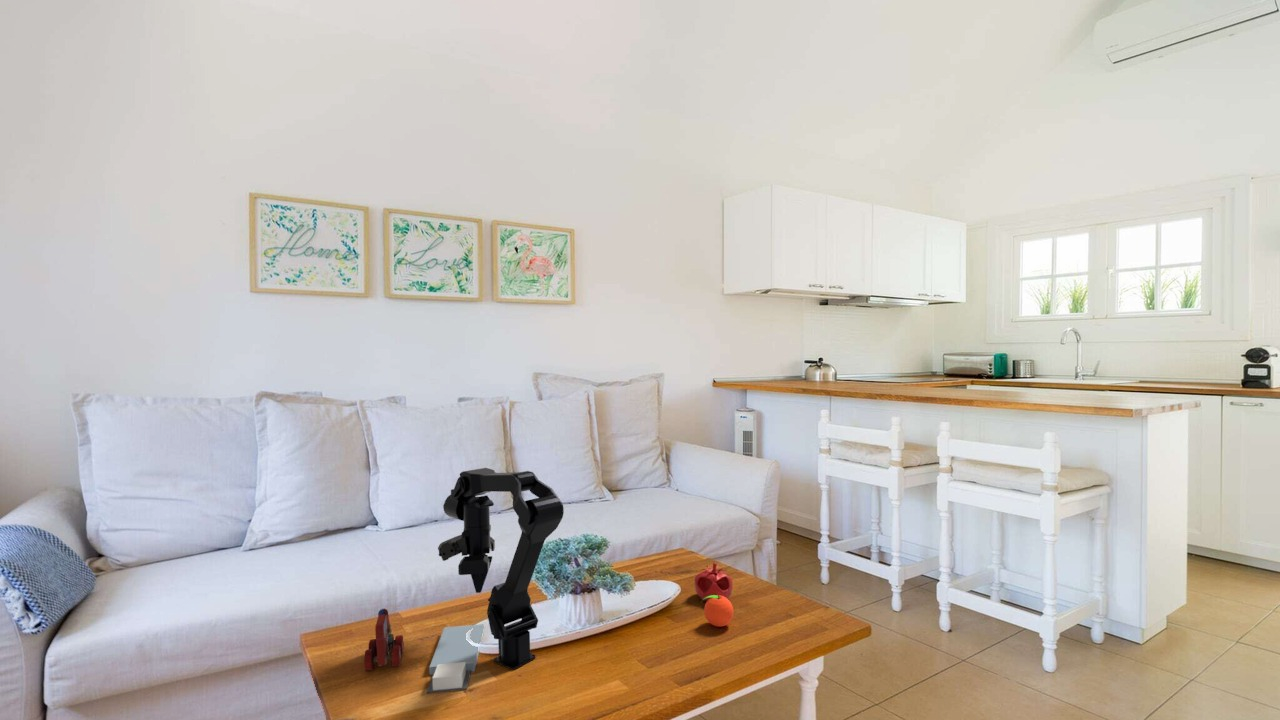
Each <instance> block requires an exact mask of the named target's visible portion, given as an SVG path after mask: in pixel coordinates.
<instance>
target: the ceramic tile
mask: <svg viewBox="0 0 1280 720" xmlns="http://www.w3.org/2000/svg"><path fill="white" fill-rule="evenodd" d="M465 675H466V662H460V663H448V664H438V665H437V668H436V670H435V673H434V676H433V690H443V689H454V688H462V686H463V682H464V679H465Z"/></svg>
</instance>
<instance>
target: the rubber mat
mask: <svg viewBox="0 0 1280 720" xmlns="http://www.w3.org/2000/svg"><path fill="white" fill-rule="evenodd" d="M471 673H472V671H471V670H469V671H466V675H465V679H464V682H463V686H462V688H454V689H443V690H433V676H434V674H433V675H431V679H430V682H429V684H428V687H427V690H426V694H434V693H445V692H455V691H466V690H467V689H468V685H469V681H470V676H471Z"/></svg>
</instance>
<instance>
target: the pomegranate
mask: <svg viewBox="0 0 1280 720" xmlns="http://www.w3.org/2000/svg"><path fill="white" fill-rule="evenodd" d="M719 567H720V565H718V563H717V562H713V563H712V568H711V566H710V565H706V566H705V568H702V569H700V570H699V571H700V572H699V573H698V574H696V575H695V577H694V580H693V581H694V590H695V593H696V594H697V595H698V597H699V598H700V599H701V601H702V600H703V599H704V598H706V597H708V596H711V595H721V596H724V597H725V598H727V599H728V600H729V598H730V597H731V595H732V592H733V589H734V588H733V580H732V578H731V577H730V576H729V575H728V574H726V573H724V572H723V571H727V569H726V568H725V569H724V568H719ZM706 568H708V569H706ZM718 568H719V569H718ZM708 599H710V598H706V599H704V600H703V601H705V602H707V601H708Z"/></svg>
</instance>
